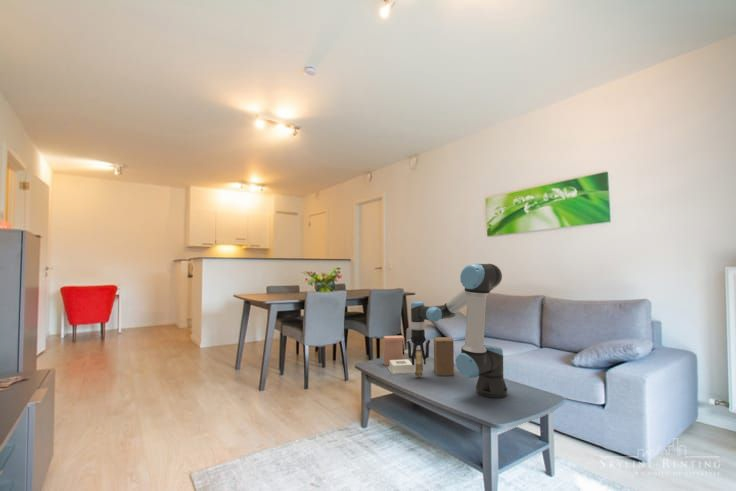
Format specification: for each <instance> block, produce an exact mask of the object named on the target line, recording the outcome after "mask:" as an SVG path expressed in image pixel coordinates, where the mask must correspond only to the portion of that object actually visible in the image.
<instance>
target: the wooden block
mask: <svg viewBox="0 0 736 491" xmlns="http://www.w3.org/2000/svg"><path fill="white" fill-rule="evenodd" d="M454 347H455V346H454V340H453V339H452V338H451V337H450V336H449V337H444V336H443V337H442V336H440V337H439V336H438V337H435V336H434V337H433V370H434V373H435V374H436V376H442V377H443V376H453V377H454V375H455V367H454V366H455V362H454V361H455V359H454V358H455V357H454V352H455V351H454V350H455V349H454Z"/></svg>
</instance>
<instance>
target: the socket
mask: <svg viewBox="0 0 736 491" xmlns="http://www.w3.org/2000/svg"><path fill="white" fill-rule="evenodd" d="M387 370H388V371H389V373H390V374H391V375H394V376H395V375H397V376H398V375H399V376H400V375H415V371H414V367H413V365H412V363H411V362H410V361H409V360H408V359H404V358H403V360H389V365H387Z"/></svg>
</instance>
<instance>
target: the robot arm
mask: <svg viewBox="0 0 736 491" xmlns="http://www.w3.org/2000/svg"><path fill="white" fill-rule="evenodd" d="M502 279H503V274H502V271H501V269H500V268H499V267H498V266H497V265H496V264H493V263H471V264H468V265H466V266H465V267H464V268H463V269H462V270H461V271H460V283H461V285H462V287H463V290H461V291H460V292H458V293H457V294H456V295H455V296H453V297H452V298H451V299H448V301H447V302H446V303H444V304H442V305H434V306H433V305H432V306H427V305H425V303H424V301H412V302H411V304H410V322H411V325H410V328H411V332H410V334H411V337H410V339H407V340H406V344H407V350H408V357H409V358H410V359H412V365H413V370H414V371H416V359H415V353H416V349H418V348H417V347H418V346H419V348H420V350H422V357H423V358H422V372H424V371H425V365H426V360H427V359H428V358H430V342H431V340H430V339H427V338H426V337H425V336H426V335H425V334H426V333H425V326H426V324H425V320H426V321H431V322H439V320H445V319H452V318H454V317H456V315H457V313H458V312H460V311H461V310H462V309H464V308H465V307H466V318H465V336H464V337H465V340H464V343H463V344H462V345H461V350H460V352H459V354H458V355H456V358H455V366H456V369H457V370H458V371H459V373H460V374H461V375H462V376H463V377H464V378H467V379H472V378H473V379H474V378H477V381H476V384H475V393H477V394H478V395H480V396H481V397H482V396H483V397H484V398H485V397H486V398H491V399H499V398H500V399H501V398H502V399H503V398H505V397H507V396H508V394H509V393H508V387H507V385H506V381H505V378H504V350H503V348H501V347H499V346H495V345H491V344H484V341H485V325H486V324H485V323H486V308H487V307H486V306H487V296H488V295H489V294H491V293H490V292H491V291H492V290H494V289H495V288H496V287H497V286H499V285H500V284H501V282H502ZM424 343H425V348H424ZM411 344H412V345H411ZM411 349H413V351H412V356H411Z"/></svg>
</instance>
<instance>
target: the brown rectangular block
mask: <svg viewBox="0 0 736 491" xmlns="http://www.w3.org/2000/svg"><path fill="white" fill-rule="evenodd" d="M403 341H405V337H404V336H403V335H384V336H383V365H384V366H389V360H404V355H403V352H404V350H403V346H404V345H403V343H404V342H403Z"/></svg>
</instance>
